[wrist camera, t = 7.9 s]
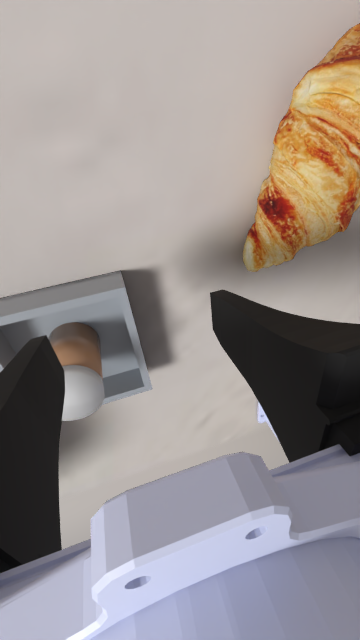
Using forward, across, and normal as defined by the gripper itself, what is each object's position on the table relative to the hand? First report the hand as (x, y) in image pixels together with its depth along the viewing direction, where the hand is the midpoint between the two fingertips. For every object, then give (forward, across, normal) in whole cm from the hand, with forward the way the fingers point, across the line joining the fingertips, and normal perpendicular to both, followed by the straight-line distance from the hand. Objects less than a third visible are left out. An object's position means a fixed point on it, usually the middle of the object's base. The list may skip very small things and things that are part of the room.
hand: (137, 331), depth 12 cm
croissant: (+10, -16, -5) cm, 20 cm away
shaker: (+9, +5, +6) cm, 12 cm away
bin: (+10, +5, +6) cm, 13 cm away
